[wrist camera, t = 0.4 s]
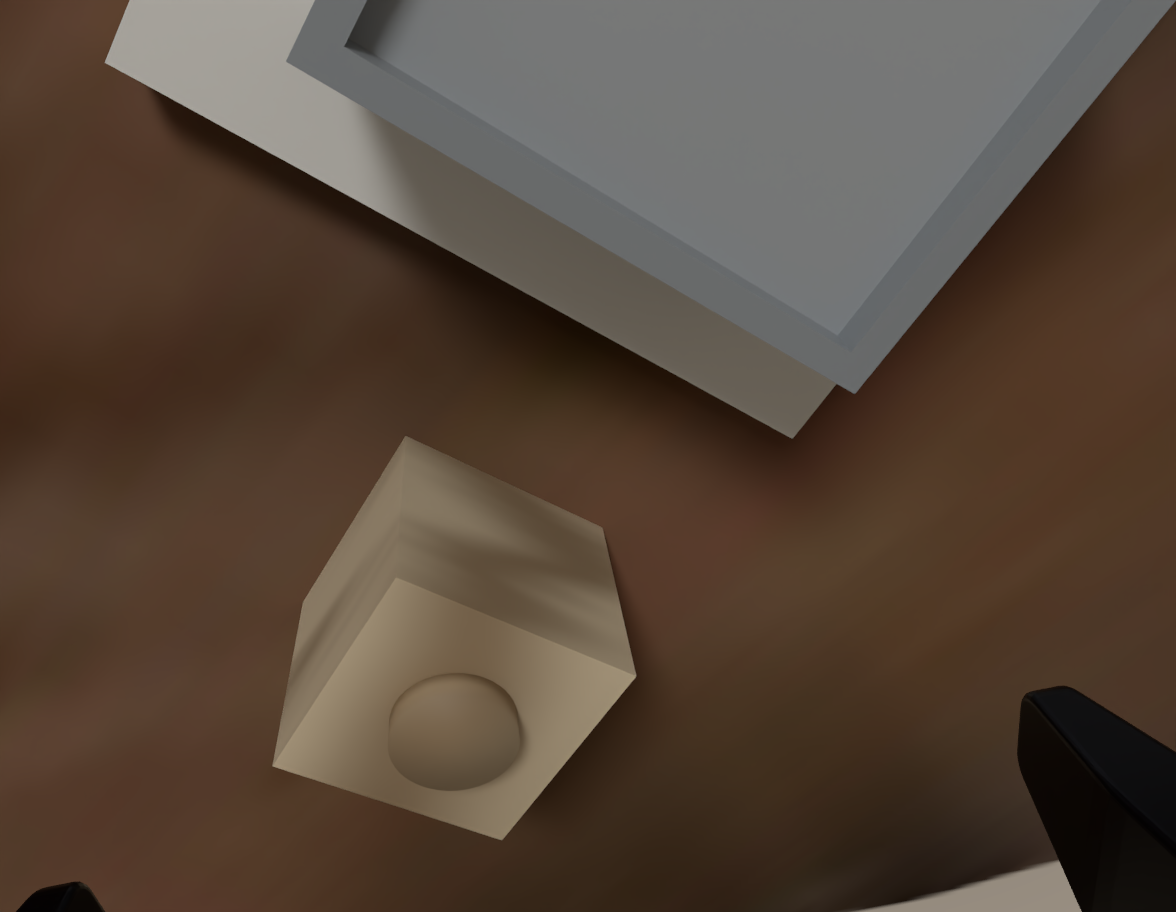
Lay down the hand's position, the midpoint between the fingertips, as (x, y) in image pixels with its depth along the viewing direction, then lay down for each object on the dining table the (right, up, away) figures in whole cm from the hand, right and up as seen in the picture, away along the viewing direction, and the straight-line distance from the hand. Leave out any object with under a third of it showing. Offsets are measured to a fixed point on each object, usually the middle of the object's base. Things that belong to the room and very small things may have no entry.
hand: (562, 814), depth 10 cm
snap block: (-3, +1, +14) cm, 14 cm away
